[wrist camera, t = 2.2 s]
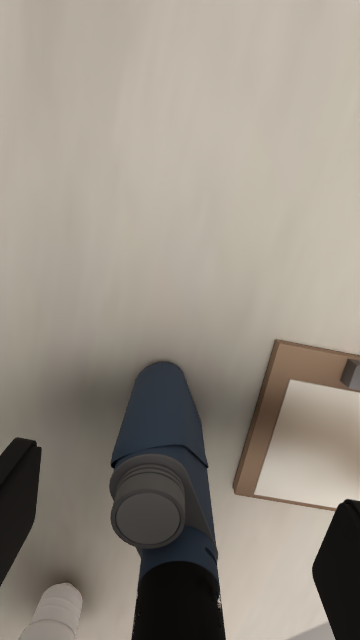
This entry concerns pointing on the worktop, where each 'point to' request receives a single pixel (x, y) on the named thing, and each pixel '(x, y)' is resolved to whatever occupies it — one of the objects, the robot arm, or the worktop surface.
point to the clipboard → (305, 430)
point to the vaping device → (167, 510)
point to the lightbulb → (56, 614)
